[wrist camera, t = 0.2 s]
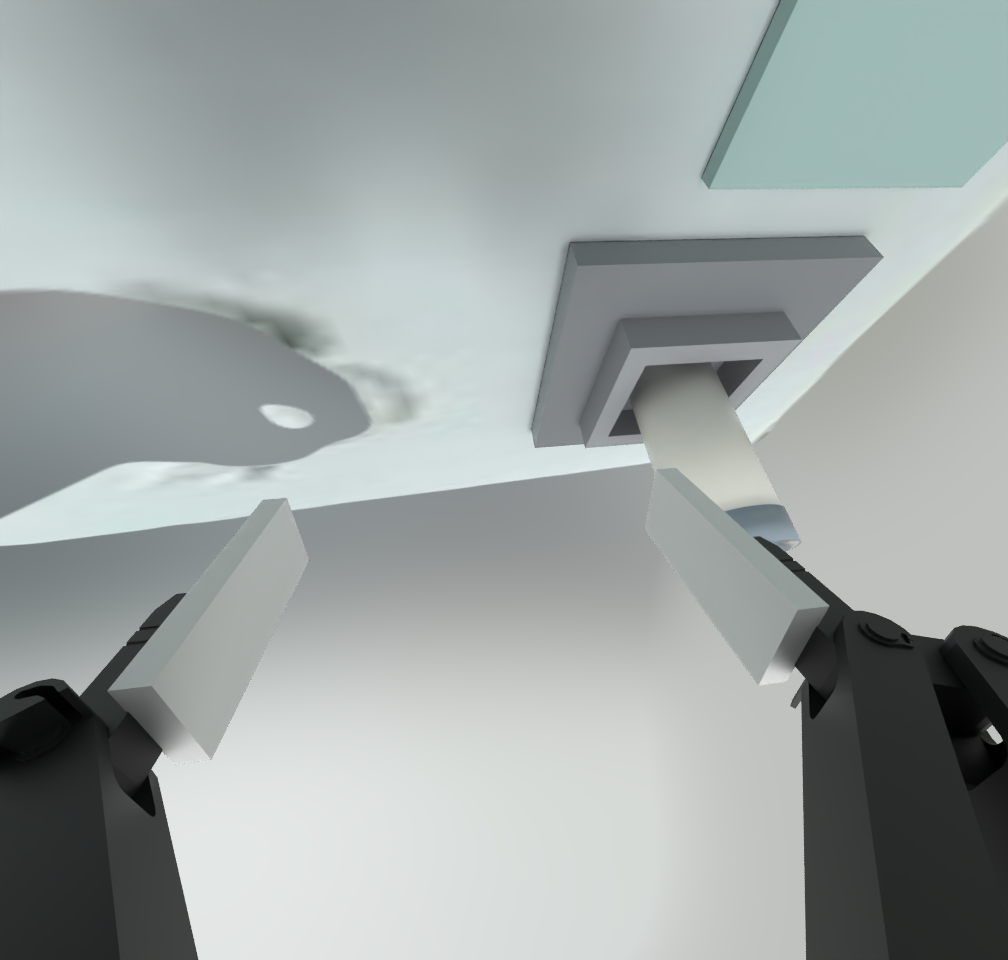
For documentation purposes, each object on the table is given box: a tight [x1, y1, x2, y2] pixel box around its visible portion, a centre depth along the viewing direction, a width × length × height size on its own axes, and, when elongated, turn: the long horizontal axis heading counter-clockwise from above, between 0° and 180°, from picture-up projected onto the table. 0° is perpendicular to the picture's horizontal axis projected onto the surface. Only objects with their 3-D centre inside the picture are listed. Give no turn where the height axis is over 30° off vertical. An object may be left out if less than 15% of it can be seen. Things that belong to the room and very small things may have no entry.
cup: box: [629, 362, 801, 551], centre depth 26 cm, size 6×6×14 cm
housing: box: [532, 236, 883, 448], centre depth 29 cm, size 18×18×4 cm
